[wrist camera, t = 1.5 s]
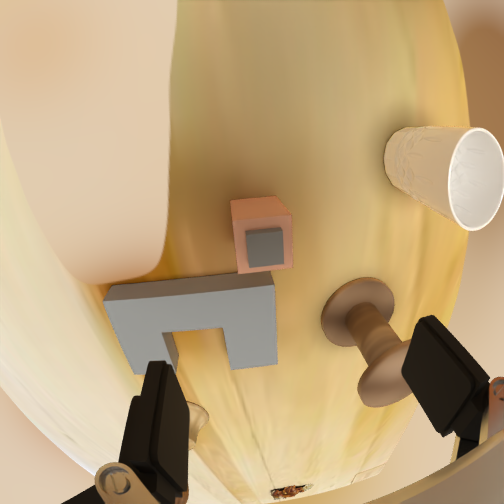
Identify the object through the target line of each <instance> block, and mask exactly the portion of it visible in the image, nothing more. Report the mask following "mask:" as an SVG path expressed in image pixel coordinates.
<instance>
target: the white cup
mask: <svg viewBox="0 0 504 504" xmlns="http://www.w3.org/2000/svg"><path fill="white" fill-rule="evenodd" d="M384 164H385V171H386V174H387V176H388V178H389V179H390V181H391V183H392V185H393V186H395V187H396V188H398V189H399V190H401V191H402V192H404V193H406V194H408V195H410V196H411V197H412V198H413V199H415V200H417V201H419V202H420V203H422V204H424V205H425V206H427V207H429V208H430V209H432V210H434V211H435V212H437V213H439V214H441V215H442V216H444V217H446V218H448V219H449V220H451V221H453V222H454V223H456V224H457V225H459V226H461V227H462V228H464V229H466V230H469V231H475V230H479V229H481V228H483V227H484V226H486V225H487V224H488V223H489V222H490V221H491V220H492V219H493V217H494V216H495V214H496V212H497V211H498V208H499V206H500V204H501V201H502V198H503V194H504V157H503V153H502V150H501V147H500V145H499V143H498V142H497V140H496V138H495V137H494V136H493V135H492V134H491V133H490V132H489V131H487V130H485V129H482V128H476V127H475V128H474V127H459V126H423V127H405V128H403V129H401V130H399V131H396V132H395V133H394V134H393V135H392V137H391V138H390V139H389V141H388V142H387V144H386V149H385V154H384Z"/></svg>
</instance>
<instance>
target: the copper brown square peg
mask: <svg viewBox="0 0 504 504" xmlns="http://www.w3.org/2000/svg"><path fill="white" fill-rule="evenodd" d="M230 205H231V214H232V224H233V233H234V242H235V251H236V260H237V268H238V274H245V273H253V272H262V271H270V270H279V269H287V268H293V241H292V215H291V213H290V212H289V211H288V210H287V208H286V207H285V206H284V205H283V204H282V202H281V201H280V200H279V199H278V198H277V196H268V197H257V198H247V199H237V200H230Z"/></svg>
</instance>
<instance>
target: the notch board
mask: <svg viewBox="0 0 504 504" xmlns="http://www.w3.org/2000/svg"><path fill="white" fill-rule="evenodd" d="M103 304H104V307H105V309H106V312H107V314H108V317H109V319H110V322H111V324H112V327H113V329H114V331H115V334H116V336H117V338H118V341H119V343H120V345H121V347H122V350H123V352H124V354H125V356H126V358H127V360H128V362H129V364H130V366H131V369H132V371H133V373H134V374H146V370H147V366H148V363H149V361H160V360H165V361H166V362H167V364H171V365H172V366H173V369H174V372H175V374H176V371H177V364H178V357H179V354H178V351H177V348H176V345H175V342H174V339H173V336H172V333H171V332H176V331H189V330H201V329H212V328H222V327H223V331H224V336H225V342H226V347H227V352H228V358H229V363H230V368H231V370H235V369H244V368H253V367H261V366H268V365H275V364H278V358H277V330H276V306H275V285H274V282H273V279H272V276H271V273H270V271H262V272H253V273H245V274H238V273H230V274H221V275H212V276H203V277H193V278H184V279H174V280H164V281H154V282H144V283H133V284H122V285H112V286H111V288H110V290H109V291H108V293H107V295H106V296H105V298H104V300H103Z"/></svg>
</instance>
